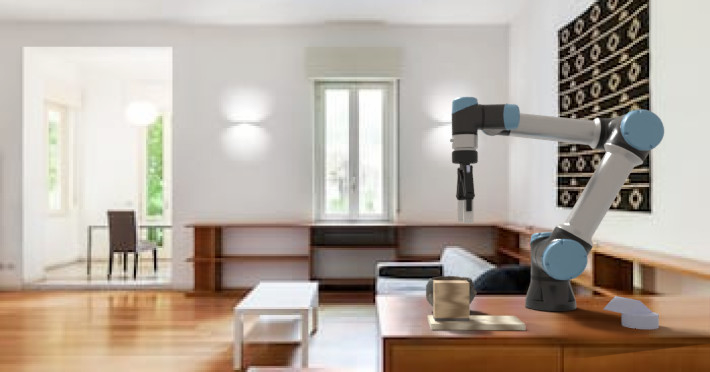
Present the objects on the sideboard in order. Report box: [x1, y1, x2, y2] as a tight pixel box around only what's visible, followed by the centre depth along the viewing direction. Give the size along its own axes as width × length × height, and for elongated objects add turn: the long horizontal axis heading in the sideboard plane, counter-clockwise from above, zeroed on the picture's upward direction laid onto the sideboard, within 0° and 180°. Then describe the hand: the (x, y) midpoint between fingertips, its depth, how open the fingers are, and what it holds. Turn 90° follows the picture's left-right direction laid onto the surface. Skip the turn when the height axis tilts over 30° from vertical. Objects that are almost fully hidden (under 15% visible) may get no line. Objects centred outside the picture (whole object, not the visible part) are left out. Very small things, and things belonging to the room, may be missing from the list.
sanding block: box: [432, 280, 471, 321], centre depth 167 cm, size 9×5×10 cm, turn 88°
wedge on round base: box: [603, 295, 660, 330], centre depth 168 cm, size 9×7×13 cm
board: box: [426, 314, 527, 331], centre depth 167 cm, size 24×12×2 cm, turn 88°
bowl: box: [425, 275, 478, 307], centre depth 188 cm, size 14×15×10 cm
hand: (465, 222), depth 184 cm, fingers open, 13 cm apart
